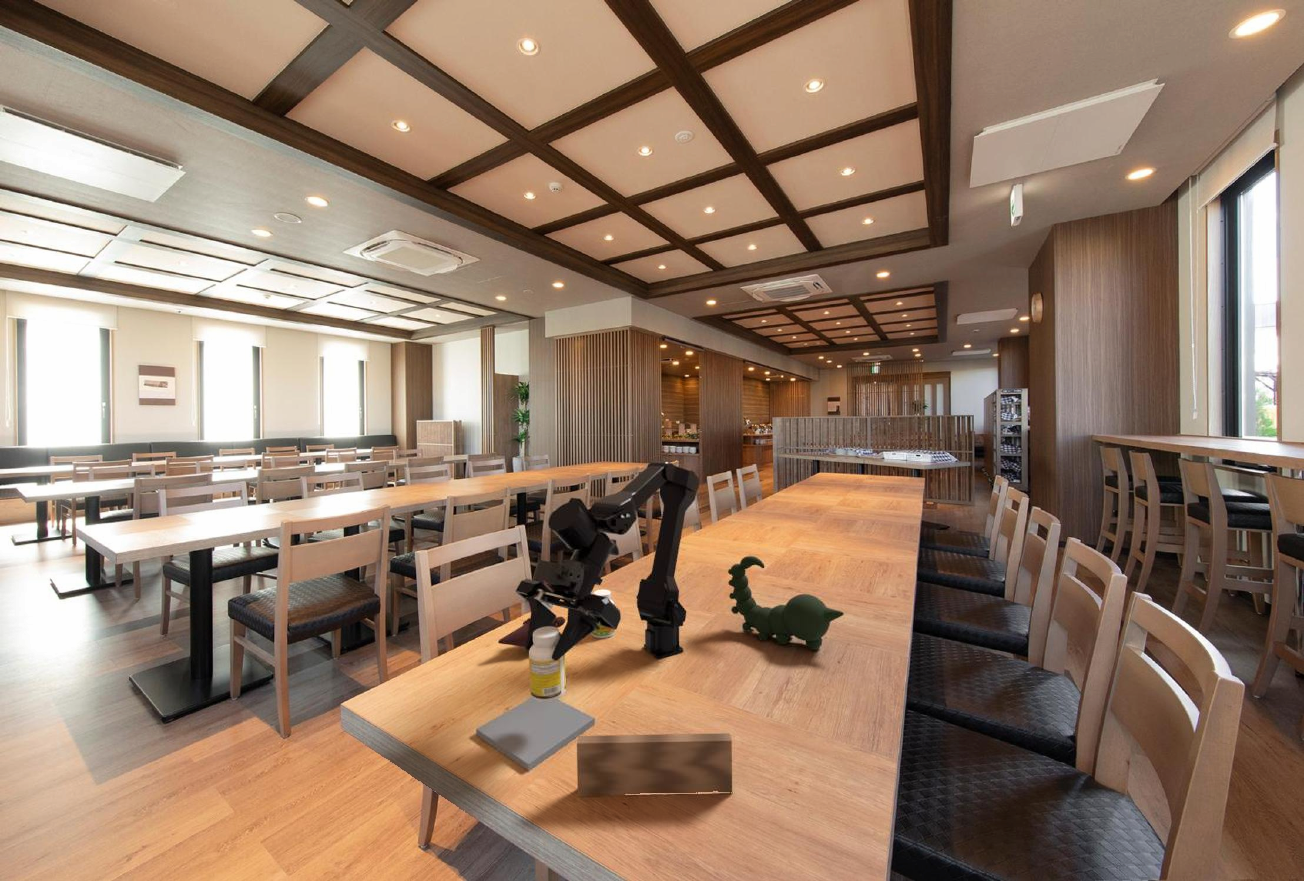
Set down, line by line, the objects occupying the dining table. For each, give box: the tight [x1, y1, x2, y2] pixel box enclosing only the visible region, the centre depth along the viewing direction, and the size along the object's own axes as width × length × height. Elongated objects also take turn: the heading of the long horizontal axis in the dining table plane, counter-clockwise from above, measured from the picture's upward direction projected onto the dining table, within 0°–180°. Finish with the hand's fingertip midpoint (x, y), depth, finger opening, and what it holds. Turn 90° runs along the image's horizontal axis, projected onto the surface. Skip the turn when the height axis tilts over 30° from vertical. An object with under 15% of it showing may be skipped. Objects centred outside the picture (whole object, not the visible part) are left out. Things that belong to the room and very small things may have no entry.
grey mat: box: [475, 697, 596, 772], centre depth 75 cm, size 13×13×1 cm
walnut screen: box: [576, 732, 733, 798], centre depth 62 cm, size 20×2×7 cm, turn 90°
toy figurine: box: [727, 555, 845, 651], centre depth 105 cm, size 9×19×25 cm
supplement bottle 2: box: [590, 589, 615, 639], centre depth 110 cm, size 5×5×10 cm
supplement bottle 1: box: [528, 626, 567, 702], centre depth 73 cm, size 5×5×10 cm
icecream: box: [498, 616, 566, 648], centre depth 103 cm, size 7×7×15 cm
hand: (540, 654), depth 72 cm, fingers closed on supplement bottle 1, 5 cm apart
